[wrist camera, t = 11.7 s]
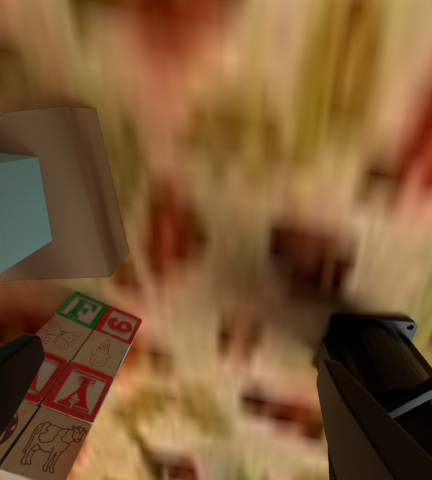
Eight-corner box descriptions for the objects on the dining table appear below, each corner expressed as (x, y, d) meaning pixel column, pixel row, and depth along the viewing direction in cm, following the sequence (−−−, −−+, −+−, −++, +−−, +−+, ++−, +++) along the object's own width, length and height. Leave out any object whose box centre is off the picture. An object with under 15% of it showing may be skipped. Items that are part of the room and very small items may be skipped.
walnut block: (99, 109, 18) (62, 106, 14) (131, 250, 22) (109, 276, 18) (-43, 123, 19) (-111, 124, 15) (13, 255, 23) (-30, 282, 19)
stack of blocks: (80, 445, 32) (-4, 621, 21) (28, 426, 31) (-89, 598, 20) (143, 318, 24) (60, 496, 13) (74, 288, 23) (-81, 449, 12)
